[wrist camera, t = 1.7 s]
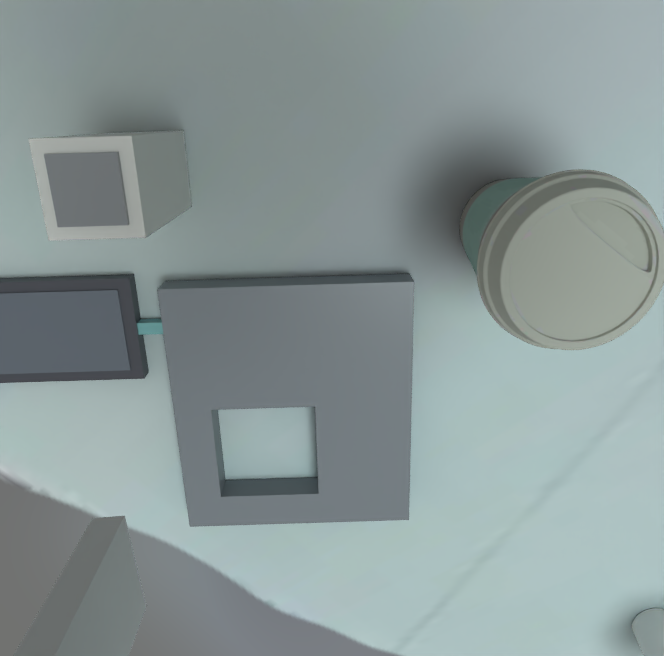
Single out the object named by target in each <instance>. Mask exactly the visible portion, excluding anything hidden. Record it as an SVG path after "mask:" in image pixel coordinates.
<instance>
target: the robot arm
mask: <svg viewBox="0 0 664 656" xmlns="http://www.w3.org/2000/svg"><path fill="white" fill-rule="evenodd" d="M146 606H147V605H146V601H145V597H144V593H143V589H142V584H141V580H140V576H139V572H138V568H137V564H136V560H135V556H134V552H133V548H132V544H131V540H130V536H129V532H128V528H127V524H126V519H125V516H116V517H103V518H92V520H91V522H90V523H89V525H88V527H87V529H86V530H85V532H84V534H83V535H82V537H81V539H80V541H79V543H78V544H77V546H76V548H75V549H74V551H73V553H72V555H71V556H70V558H69V560H68V562H67V563H66V565H65V567H64V568H63V570H62V572H61V574H60V575H59V577H58V579H57V581H56V582H55V584H54V586H53V588H52V589H51V591H50V593H49V594H48V596H47V598H46V600H45V601H44V603H43V605H42V607H41V609H40V610H39V612H38V614H37V615H36V617H35V619H34V620H33V622H32V624H31V626H30V627H29V629H28V631H27V633H26V635H25V636H24V638H23V640H22V641H21V643H20V645H19V647H18V648H17V650H16V652H15V653H14V655H13V656H129V653H130V651H131V648H132V645H133V643H134V640H135V637H136V634H137V632H138V629H139V626H140V623H141V620H142V618H143V615H144V612H145V609H146Z"/></svg>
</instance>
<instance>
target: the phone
mask: <svg viewBox="0 0 664 656" xmlns="http://www.w3.org/2000/svg"><path fill="white" fill-rule="evenodd" d="M144 334H163V328H162V320H161V319H141V318H140V312H139V305H138V299H137V292H136V285H135V279H134V274H130V275H96V276H63V277H30V278H0V383H12V382H45V381H78V380H111V379H144V378H145V377H146V375H147V374H148V365H147V358H146V352H145V345H144V338H143V335H144Z"/></svg>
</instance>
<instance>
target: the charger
mask: <svg viewBox="0 0 664 656" xmlns="http://www.w3.org/2000/svg"><path fill="white" fill-rule="evenodd" d="M29 144H30V149H31V154H32V159H33V164H34V169H35V174H36V179H37V184H38V189H39V194H40V199H41V204H42V210H43V215H44V220H45V225H46V230H47V235H48V240H49V241H58V240H91V239H125V238H146V237H148V236H149V235H151V234H152V233H154V232H155V231H157V230H158V229H160V228H161V227H162V226H164V225H165V224H167V223H168V222H170V221H171V220H173V219H174V218H176V217H177V216H179V215H180V214H182V213H183V212H185V211H186V210H187V209H189V208H190V207H192V202H191V193H190V184H189V175H188V166H187V157H186V148H185V138H184V131H153V132H119V133H99V134H86V135H72V136H59V137H45V138H32V139H29Z"/></svg>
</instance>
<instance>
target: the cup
mask: <svg viewBox="0 0 664 656" xmlns="http://www.w3.org/2000/svg"><path fill="white" fill-rule="evenodd" d="M632 631H633V633H634V635H635V637H636V639H637V642H638V644H639V646H640V648H641V651H642V653H643V655H644V656H664V609H660V608H653V609H648V610H645V611H643V612H641V613H640V614H639V615H637V616H636V617H635V619H634V620H633V623H632Z"/></svg>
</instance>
